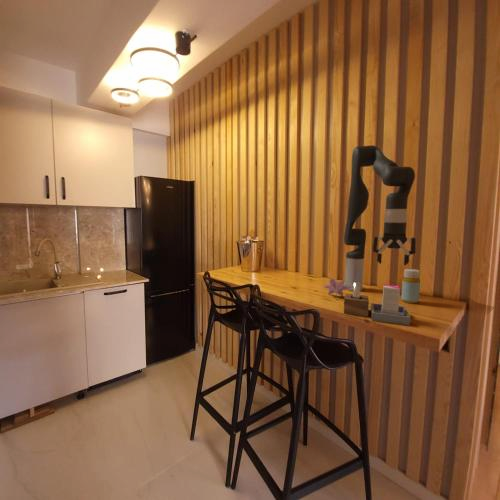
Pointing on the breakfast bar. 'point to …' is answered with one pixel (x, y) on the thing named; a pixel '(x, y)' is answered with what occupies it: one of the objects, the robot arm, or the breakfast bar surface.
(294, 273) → the breakfast bar surface
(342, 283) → the lily
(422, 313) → the breakfast bar surface
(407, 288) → the bottle
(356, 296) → the pin gauge
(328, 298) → the breakfast bar surface
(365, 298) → the bore block
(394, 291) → the supplement box
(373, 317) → the tray
